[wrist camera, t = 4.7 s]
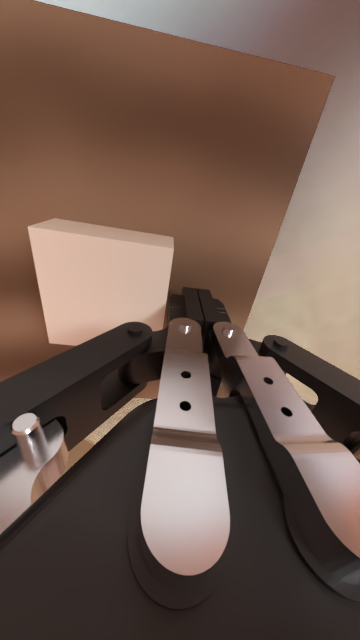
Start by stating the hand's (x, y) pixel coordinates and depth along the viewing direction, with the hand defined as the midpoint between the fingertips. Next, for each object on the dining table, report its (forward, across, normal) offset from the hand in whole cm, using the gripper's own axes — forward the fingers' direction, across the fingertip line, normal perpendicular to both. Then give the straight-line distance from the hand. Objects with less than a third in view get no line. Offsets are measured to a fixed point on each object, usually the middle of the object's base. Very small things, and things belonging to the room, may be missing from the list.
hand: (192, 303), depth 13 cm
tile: (+1, +4, 0) cm, 5 cm away
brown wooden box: (+7, +5, 0) cm, 9 cm away
